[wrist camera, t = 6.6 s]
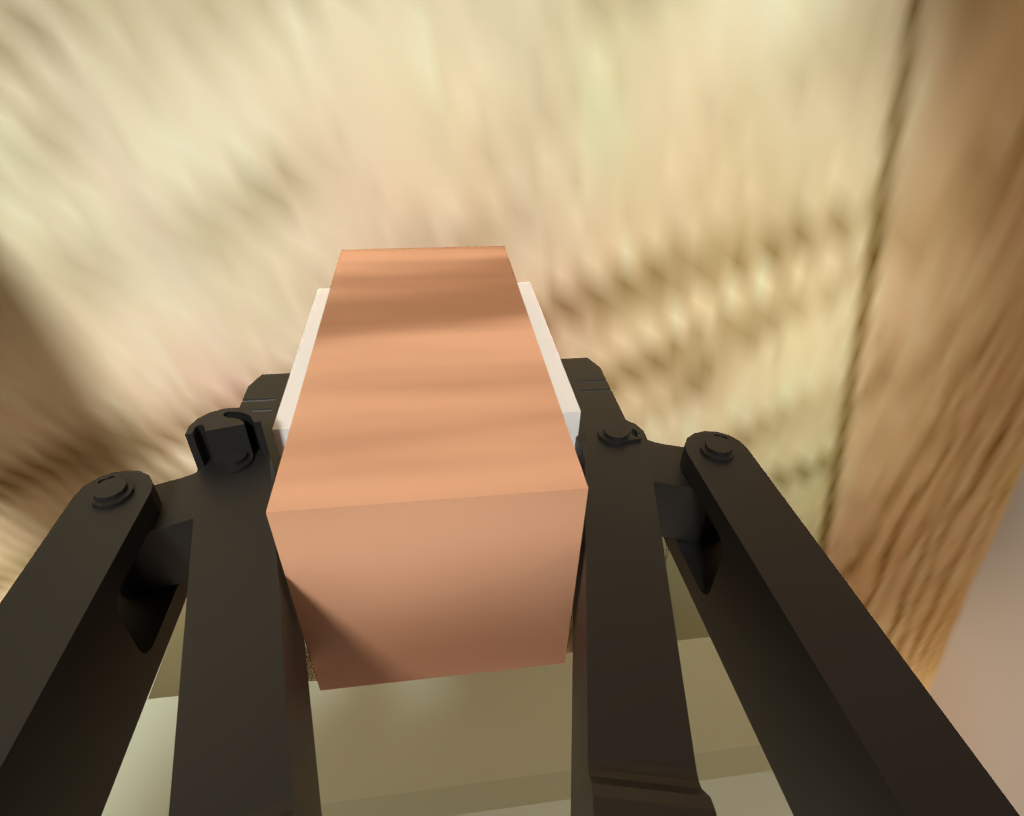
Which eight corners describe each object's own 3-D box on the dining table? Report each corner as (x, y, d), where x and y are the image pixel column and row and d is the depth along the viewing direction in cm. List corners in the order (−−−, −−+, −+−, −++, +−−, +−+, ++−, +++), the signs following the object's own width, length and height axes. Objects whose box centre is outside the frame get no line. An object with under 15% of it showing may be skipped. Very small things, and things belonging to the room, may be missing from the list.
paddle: (340, 249, 16) (265, 512, 8) (504, 246, 17) (588, 488, 9) (406, 691, 29) (402, 961, 21) (496, 681, 30) (527, 940, 22)
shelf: (145, 575, 24) (5, 878, 16) (715, 526, 27) (845, 760, 19) (211, 701, 30) (133, 971, 22) (676, 649, 33) (762, 869, 25)
